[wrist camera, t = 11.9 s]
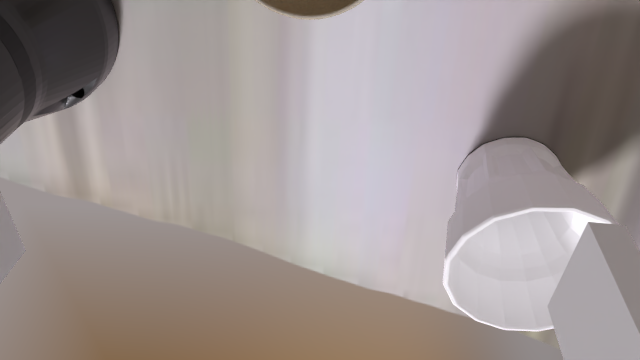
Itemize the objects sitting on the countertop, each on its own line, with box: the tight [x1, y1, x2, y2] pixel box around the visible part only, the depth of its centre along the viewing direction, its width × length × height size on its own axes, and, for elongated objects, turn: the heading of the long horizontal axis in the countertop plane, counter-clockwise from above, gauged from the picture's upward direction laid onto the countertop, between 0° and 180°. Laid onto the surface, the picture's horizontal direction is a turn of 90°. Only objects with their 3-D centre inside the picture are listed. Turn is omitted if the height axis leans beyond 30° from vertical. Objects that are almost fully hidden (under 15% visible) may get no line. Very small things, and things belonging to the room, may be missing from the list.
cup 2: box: [443, 138, 619, 331], centre depth 40 cm, size 12×12×11 cm
